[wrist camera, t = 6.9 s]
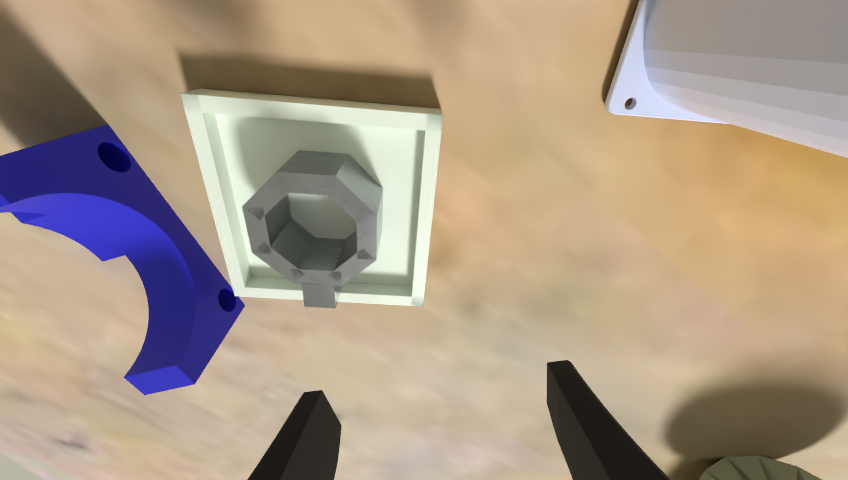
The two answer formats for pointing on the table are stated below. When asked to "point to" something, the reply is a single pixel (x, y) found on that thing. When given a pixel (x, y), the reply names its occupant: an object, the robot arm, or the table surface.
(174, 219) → the cable clip
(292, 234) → the grey octagonal ring
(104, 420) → the table surface
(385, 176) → the tray
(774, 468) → the spool
